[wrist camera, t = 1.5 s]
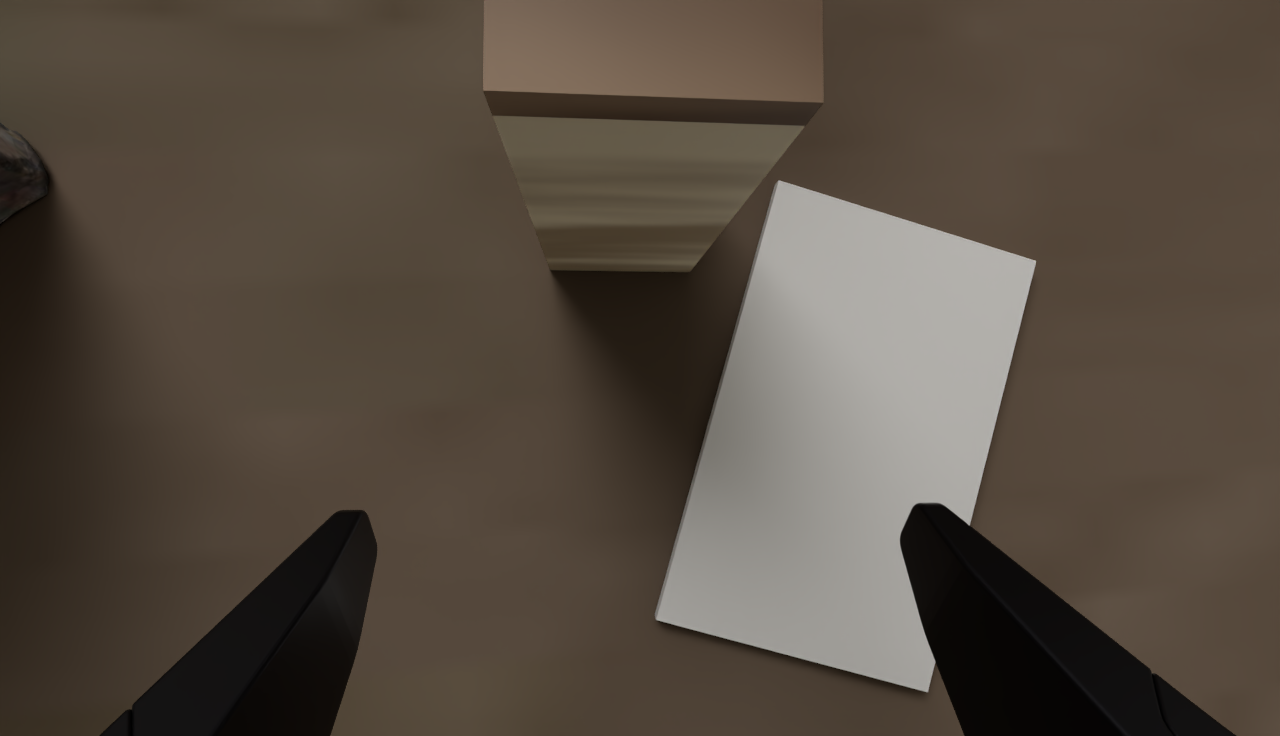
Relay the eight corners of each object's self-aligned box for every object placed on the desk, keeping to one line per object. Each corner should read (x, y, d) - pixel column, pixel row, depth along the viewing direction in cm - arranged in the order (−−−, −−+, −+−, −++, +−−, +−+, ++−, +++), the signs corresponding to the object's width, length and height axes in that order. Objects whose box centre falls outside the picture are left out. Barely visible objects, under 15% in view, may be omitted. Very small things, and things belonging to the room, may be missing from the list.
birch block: (689, 272, 22) (823, 102, 9) (550, 270, 22) (482, 90, 9) (689, 176, 22) (820, -124, 9) (550, 172, 22) (485, -147, 9)
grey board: (920, 685, 22) (927, 692, 22) (654, 614, 22) (656, 619, 21) (1027, 264, 23) (1036, 261, 23) (774, 184, 22) (778, 180, 22)
